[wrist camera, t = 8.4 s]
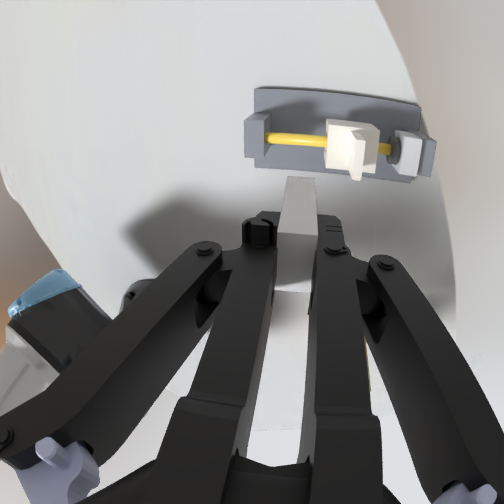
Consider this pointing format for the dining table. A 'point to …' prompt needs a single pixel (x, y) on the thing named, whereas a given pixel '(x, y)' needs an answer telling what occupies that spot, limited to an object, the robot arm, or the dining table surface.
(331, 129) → the cream slider carriage
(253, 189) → the dining table surface
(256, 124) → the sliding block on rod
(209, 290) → the robot arm
